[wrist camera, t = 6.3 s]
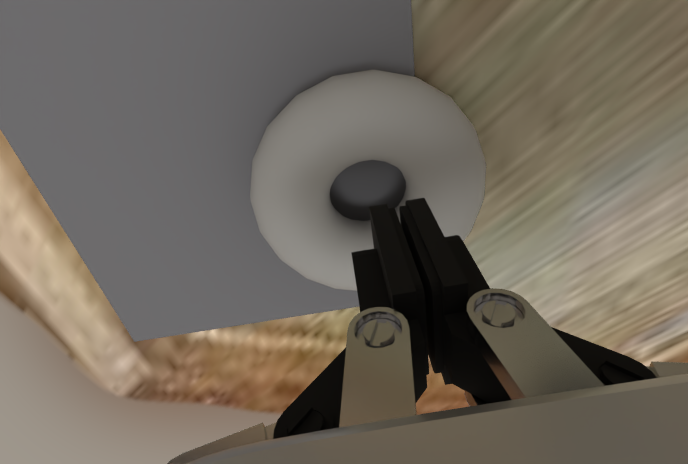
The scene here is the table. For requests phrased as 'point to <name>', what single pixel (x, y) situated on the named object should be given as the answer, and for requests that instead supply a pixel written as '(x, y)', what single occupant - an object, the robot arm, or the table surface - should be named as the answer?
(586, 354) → the robot arm
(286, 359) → the table surface
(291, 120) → the donut
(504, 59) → the table surface
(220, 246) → the mat
